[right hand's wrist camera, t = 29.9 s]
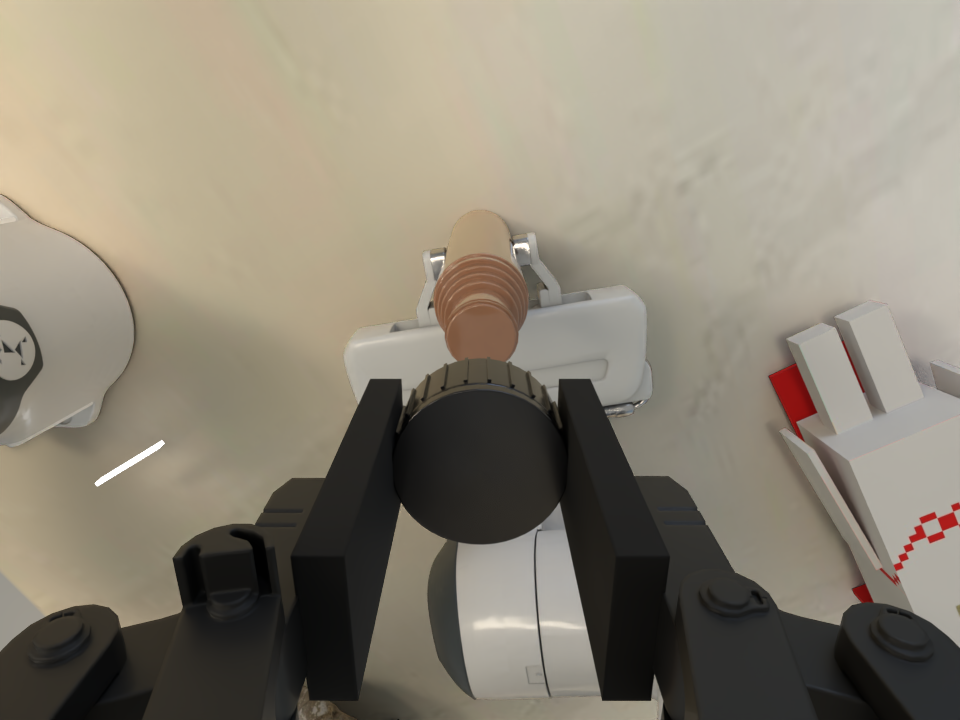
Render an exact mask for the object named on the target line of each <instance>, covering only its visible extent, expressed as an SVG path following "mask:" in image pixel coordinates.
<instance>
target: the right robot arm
mask: <svg viewBox="0 0 960 720" xmlns="http://www.w3.org/2000/svg"><path fill="white" fill-rule="evenodd" d="M402 407H403V399H402V379H370V380H369V382H368V385H367V387H366V389H365V391H364V394H363V396H362V398H361V400H360V402H359V405H358V407H357V409H356V411H355V414H354V416H353V418H352V420H351V422H350V425H349V427H348V429H347V431H346V434H345V436H344V438H343V440H342V442H341V445H340V447H339V449H338V451H337V454H336V456H335V458H334V460H333V462H332V465H331V467H330V469H329V471H328V474H327V476H326V478H292V479H290V480H289V481H288V482H286V483H285V484H284V485H283V486H281V487H280V488H279V489H277V490H276V491H275V492H273V494H272V496H271V497H270V499H269V501H268V503H267V504H266V506H265V508H264V511H263V513H261V515H260V517H259V518H258V520H257V522H256V523H255V525H252V524H230V525H226V526H221V527H216V528H213V529H211V530H208V531H206V532H204V533H201V534H199V535H197V536H195V537H194V538H192V539H191V540H190V541H188V542H187V543H185V544H184V545H183V546H181V548H180V549H179V550H178V552H177V553H176V554H175V556H174V557H173V563H174V568H175V572H176V577H177V582H178V586H179V591H180V595H181V600H182V605H183V609H182V611H181V612H180V613H178V614H175V615H172V616H169V617H165V618H162V619H158V620H154V621H149V622H145V623H141V624H137V625H132V626H128V627H124V628H121V626H120V622H119V619H118V616H117V615H116V614H115V613H114V612H113V611H112V610H111V609H110V608H108V607H104V606H99V605H94V604H93V605H83V606H74V607H71V608H68V609H64V610H61V611H58V612H55V613H52V614H50V615H48V616H46V617H44V618H43V619H41V620H39V621H37V622H35V623H33V624H31V625H30V626H29V627H27V628H26V629H25V630H24V631H22V632H21V633H20V634H19V635H17V636H16V637H15V638H14V639H12V640H11V641H10V642H9V643H8V644H7V645H6V646H5V647H4V648H3V649H2V650H1V652H0V720H299V714H298V707H297V703H298V700H299V697H300V694H301V691H302V687H303V684H304V681H305V678H306V679H307V686H308V694H309V701H358V699H359V694H360V690H361V685H362V681H363V676H364V671H365V667H366V662H367V657H368V653H369V648H370V643H371V639H372V634H373V629H374V625H375V620H376V615H377V611H378V606H379V602H380V597H381V592H382V588H383V583H384V578H385V574H386V569H387V564H388V560H389V555H390V550H391V546H392V541H393V536H394V532H395V527H396V523H397V518H398V513H399V509H400V504H401V501H400V499H399V497H398V495H397V493H396V490H395V487H394V480H393V463H392V454H393V450H394V446H395V442H396V439H397V435H395V432H396V429H397V425H398V422H399V418H400V414H401V411H402ZM558 411H559V414H560V418H561V421H562V425H563V428H564V430H563V431H562V433H563V436H564V440H565V443H566V447H567V451H568V470H567V485H566V489H565V491H564V494H563V496H562V498H561V500H560V507H561V511H562V516H563V521H564V525H565V530H566V535H567V539H568V544H569V549H570V553H571V558H572V563H573V567H574V572H575V577H576V581H577V586H578V590H579V595H580V600H581V604H582V609H583V614H584V618H585V623H586V628H587V632H588V637H589V642H590V646H591V651H592V655H593V660H594V665H595V669H596V674H597V679H598V683H599V688H600V693H601V697H602V701H651V697H652V689H653V682H654V674H655V677H656V680H657V683H658V686H659V689H660V693H661V696H662V699H663V707H662V714H661V720H960V647H959V646H958V645H957V644H956V643H955V642H954V641H953V640H952V639H951V638H950V637H949V636H947V635H946V634H945V633H944V632H942V631H941V630H940V629H938V628H937V627H936V626H935V625H933V624H932V623H931V622H929V621H927V620H925V619H923V618H922V617H920V616H918V615H916V614H914V613H912V612H910V611H908V610H904V609H901V608H898V607H895V606H892V605H889V604H882V603H872V602H865V603H860V604H856V605H852V606H851V607H850V608H849V609H848V610H846V611H845V612H844V613H843V617H842V621H841V624H840V626H839V625H834V624H830V623H826V622H821V621H817V620H813V619H808V618H804V617H800V616H796V615H793V614H790V613H787V612H783V611H781V610H779V609H778V608H777V605H776V604H775V602H774V601H773V599H772V598H771V596H770V594H769V593H768V592H767V591H765V590H764V589H763V588H762V587H760V586H759V585H758V584H757V583H756V582H754V581H752V580H750V579H748V578H746V577H744V576H742V575H740V574H737V573H735V572H734V570H733V568H732V567H731V565H730V563H729V561H728V560H727V558H726V556H725V555H724V553H723V551H722V549H721V548H720V546H719V544H718V543H717V541H716V539H715V537H714V536H713V534H712V532H711V530H710V529H709V527H708V525H705V520H704V518H703V517H702V515H701V513H700V512H699V511H697V506H696V505H695V503H694V501H693V500H692V498H691V496H690V494H689V493H688V491H687V490H686V489H684V488H683V487H682V486H680V485H679V484H678V483H677V482H675V481H674V480H673V479H671V478H670V477H669V476H634V475H633V473H632V470H631V468H630V466H629V464H628V462H627V459H626V457H625V455H624V453H623V450H622V448H621V446H620V444H619V442H618V439H617V437H616V435H615V433H614V430H613V428H612V426H611V424H610V422H609V419H608V417H607V415H606V413H605V410H604V408H603V406H602V404H601V402H600V399H599V397H598V395H597V393H596V390H595V388H594V386H593V384H592V382H591V379H559V386H558Z"/></svg>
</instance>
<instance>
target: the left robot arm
mask: <svg viewBox="0 0 960 720" xmlns="http://www.w3.org/2000/svg"><path fill="white" fill-rule="evenodd" d="M512 240H513V245H514V247H515V251H516V254H517V257H518V260H519V263H520V266H524V265H530V266H531V268H532V269H533V270H534V271H535V273H536V274H537V275H538V276H539V278H540V279H541V280H542V282H541V283H538V284H537V293H538V298H537V299H531V300H529V306H528V312H527V316H526V319H525V321H524V324H523V326H522V327H521V329H520V330H519V337H518V344H517V347H516V350H515V352H514V353H513V355H512V356H511V358H510V359H509V360H507V361H506V363H508V362H509V361H510V362H512V365H514V366H517V367H519V368H521V369H522V370H524V371H526V372H527V371H530V372H531V375H532V376H533V377H534V378H535V379H536V380H537V381H538V382H539V383H540V384H541V385H545V386H546V388H547V392H548V394H549V395H550V397H551V399H552V401H553V402H554V401H555V402H556V404H557V407H558V386H559V379H591V382H592V384H593V386H594V388H595V390H596V393H597V395H598V397H599V399H600V402H601V404H602V406H603V408H604V410H605V413H606V415H607V417H608V418H609V417H625V416H628V415H631V414H633V413H634V409H637V408H639V407H641V406H643V405H644V404H645V403H646V402H647V401H648V400H649V398H650V397H651V395H652V391H653V380H652V369H651V365H650V363H649V362H648V360H647V359H646V346H647V311H646V306H645V304H644V302H643V300H642V299H641V298H640V297H639V296H638V295H637V294H636V293H635V292H634V291H632V290H631V289H630V288H628V287H627V286H625V285H616V286H610V287H604V288H598V289H592V290H586V291H580V292H573V293H567V294H561V289H560V286H559V284H558V282H557V280H556V279H555V277H554V276H553V275H552V274H551V272H550V271H549V270H548V268H547V267H546V266H545V265H544V263H543V262H542V261H541V260H540V258H539V255H538V247H537V240H536V236H535V233H534V232H531V233H525V234H520V235H515V236H512ZM445 253H446V248H438V249H432V250H426V251H423V254H422V255H423V263H424V268H425V273H426V278H427V280H426V282H425V285H424V288H423V291H422V294H421V297H420V300H419V303H418V306H417V308H416V313H417V318H415V319H409V320H403V321H397V322H391V323H385V324H379V325H373V326H366V327H361V328H359V329H357V330H356V331H355V333H354V334H353V335H352V337H351V338H350V339H349V341H348V343H347V345H346V347H345V349H344V353H343V360H344V364H345V368H346V372H347V375H348V379H349V382H350V385H351V388H352V390H353V393H354V396H355V398H356V401H357V404H358V405H359V402H360V400H361V398H362V396H363V394H364V391H365V389H366V387H367V385H368V382H369V380H370V379H402V399H403V405H404V406H406V404H407V402H408V400H409V398H410V394H411V390H412V389H413V388H414V389H416V388H417V386H418V385H419V384H420V383H421V382H422V381H423V380H424V379H425V376H426V375H427V374H429V375H430V374H432V373H433V372H435V371H436V370H438V369H440V368H442V367H443V366H444V364H445V363H447V364H451V363H454V362H457V361H456V360H455V359H454V358H453V357H452V355H451V354H450V352H449V350H448V348H447V345H446V342H445V332H444V331H443V330H442V328H441V327H440V325H439V323H438V321H437V318H436V314H435V309H434V300H433V301H431V302H430V300H431V297H432V294H433V291H434V288H435V285H436V282H437V280H438V276H439V273H440V270H441V266H442V263H443V260H444V256H445ZM133 343H134V324H133V317H132V313H131V309H130V306H129V303H128V300H127V298H126V296H125V293H124V291H123V289H122V288H121V286H120V284H119V282H118V281H117V279H116V278H115V276H114V275H113V274H112V272H111V271H110V270H109V268H108V267H107V266H106V265H105V264H104V263H103V262H102V261H101V260H100V259H99V258H98V257H97V256H96V255H95V254H94V253H93V252H92V251H90V250H89V249H88V248H87V247H85V246H84V245H83V244H81V243H80V242H78V241H77V240H75V239H73V238H71V237H70V236H68V235H66V234H64V233H62V232H60V231H57V230H55V229H52V228H50V227H47V226H45V225H43V224H40V223H38V222H36V221H35V220H33V219H31V218H30V217H29V216H28V215H27V214H26V213H24V212H23V211H22V210H21V209H20V208H19V207H18V206H16V205H15V204H14V203H13V202H11V201H10V200H9V199H7V198H6V197H4V196H3V195H1V194H0V445H7V446H8V447H15V446H18V445H21V444H23V443H25V442H27V441H28V440H30V439H32V438H34V437H36V436H37V435H39V434H41V433H43V432H45V431H46V430H48V429H50V428H52V427H72V428H80V427H85V426H87V425H88V424H90V423H92V422H94V421H95V420H96V419H97V417H98V415H99V413H100V410H101V406H102V402H103V398H104V394H105V393H106V391H107V390H108V389H109V387H110V386H111V385H112V384H113V383H114V382H115V381H116V380H117V379H118V378H119V376H120V375H121V374H122V373H123V371H124V369H125V368H126V366H127V364H128V362H129V359H130V357H131V353H132V349H133ZM635 401H638V402H636V403H634V404H633V402H635ZM163 444H164V442H163V441H160V442H159V443H157V444H155V445H154V446H152V447H150V448H149V449H147V450H146V451H144V452H142V453H141V454H139V455H137V456H136V457H134V458H133V459H131V460H129V461H128V462H126V463H124V464H123V465H121V466H119V467H118V468H116V469H115V470H113V471H111V472H110V473H108V474H106V475H105V476H103V477H102V478H100V479H99V480H98V481H97V482H96V483H95V484H96V485H97V486H99V485H100V484H102V483H104V482H105V481H107V480H108V479H110V478H112V477H113V476H115V475H117V474H118V473H120V472H122V471H123V470H125V469H126V468H128V467H130V466H131V465H133V464H135V463H136V462H138V461H140V460H141V459H143V458H144V457H146V456H148V455H149V454H151V453H153V452H154V451H156V450H158V449H159V448H160V447H161V446H162V445H163ZM427 594H428V609H429V617H430V623H431V629H432V634H433V639H434V643H435V647H436V651H437V655H438V658H439V660H440V662H441V663H442V665H443V666H444V668H445V669H446V671H447V672H448V674H449V675H450V676H451V678H452V679H453V681H454V682H455V683H456V684H457V685H458V686H459V687H460V688H461V689H462V690H463V691H464V692H465V693H466V694H467V695H469V696H470V697H472V698H473V699H486V700H524V699H551V698H552V697H581V696H601V693H600V688H599V683H598V679H597V674H596V669H595V665H594V660H593V655H592V651H591V646H590V642H589V637H588V632H587V628H586V623H585V618H584V614H583V609H582V604H581V600H580V595H579V590H578V586H577V581H576V577H575V572H574V567H573V563H572V558H571V553H570V549H569V544H568V539H567V535H566V530H565V525H564V521H563V516H562V511H561V507H560V502H559V503H558V505H557V507H556V508H555V509H554V511H553V512H552V513H551V515H550V516H549V517H548V518H547V519H546V520H545V521H544V522H542V523H541V524H540V525H539V526H537V527H536V528H535V529H533V530H531V531H530V532H528V533H526V534H524V535H522V536H520V537H517V538H515V539H512V540H509V541H506V542H501V543H496V544H486V545H474V544H465V543H459V542H455V541H451V540H447V542H446V543H445V545H444V546H443V548H442V549H441V551H440V552H439V553H438V555H437V557H436V558H435V560H434V562H433V565H432V567H431V571H430V575H429V581H428V593H427ZM651 698H652V699H655V700H657V701H658V710H657V720H661V714H662V707H663V699H662V696H661V693H660V689H659V686H658V683H657V680H656V677H655V674H654V682H653V689H652V697H651Z"/></svg>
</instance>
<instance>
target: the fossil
mask: <svg viewBox="0 0 960 720" xmlns="http://www.w3.org/2000/svg"><path fill="white" fill-rule="evenodd" d="M297 707H298V714H299V720H357V719H356V718H354V717H351V716H349V715H347V714H345V713H343V712H342V711H340V710H339V709H338V707H337V706H336V705H335V704H334V703H332V702H330V701H309V694H308V688H307V687H305V686H303V687H302V691H301V694H300V697H299V700H298V703H297ZM398 720H399V719H398Z"/></svg>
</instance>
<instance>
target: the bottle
mask: <svg viewBox="0 0 960 720" xmlns="http://www.w3.org/2000/svg"><path fill="white" fill-rule="evenodd" d="M433 300H434V309H435V314H436V318H437V321H438V323H439V325H440V327H441V328H442V330H443V331H444V332H445V342H446V345H447V348H448V350H449V352H450V354H451V355H452V357H453V358H454V359H455V360H456V361H462V360H465V358H467V357H468V359H476V358H485V359H487V357H490V358H491V359H493V360H500V361H503V362H506V361H507V360H509V359H510V358H511V356H512V355H513V353H514V352H515V350H516V347H517V344H518V337H519V330H520V329H521V327H522V326H523V324H524V321H525V319H526V316H527V312H528V306H529V294H528V288H527V285H526V282H525V279H524V275H523V272H522V269H521V266H520V263H519V260H518V257H517V254H516V251H515V247H514V245H513V241H512V238H511V235H510V232H509V229H508V227H507V225H506V223H505V222H504V221H503V219H502V218H501V217H499V216H498V215H497V214H495V213H493V212H490V211H486V210H475V211H471V212H469V213H467V214H465V215H463V216H462V217H461V218H460V219H459V220H458V221H457V222H456V224H455V226H454V228H453V230H452V233H451V237H450V240H449V243H448V247H447V250H446V253H445V256H444V260H443V263H442V266H441V270H440V273H439V276H438V280H437V283H436V286H435V290H434V298H433Z"/></svg>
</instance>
